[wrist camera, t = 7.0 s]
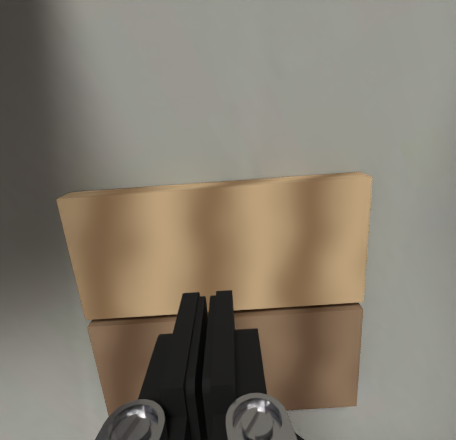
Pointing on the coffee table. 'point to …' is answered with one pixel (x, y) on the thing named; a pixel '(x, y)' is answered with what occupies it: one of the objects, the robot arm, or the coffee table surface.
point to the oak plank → (219, 243)
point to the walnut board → (270, 350)
